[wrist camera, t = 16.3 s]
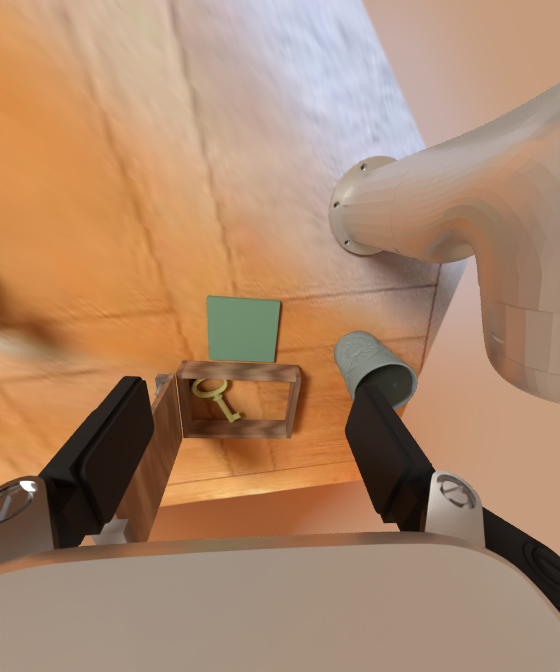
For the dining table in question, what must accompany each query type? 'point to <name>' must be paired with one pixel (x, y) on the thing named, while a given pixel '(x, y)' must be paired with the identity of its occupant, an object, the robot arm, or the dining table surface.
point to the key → (216, 398)
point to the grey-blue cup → (374, 368)
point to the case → (163, 447)
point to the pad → (242, 328)
